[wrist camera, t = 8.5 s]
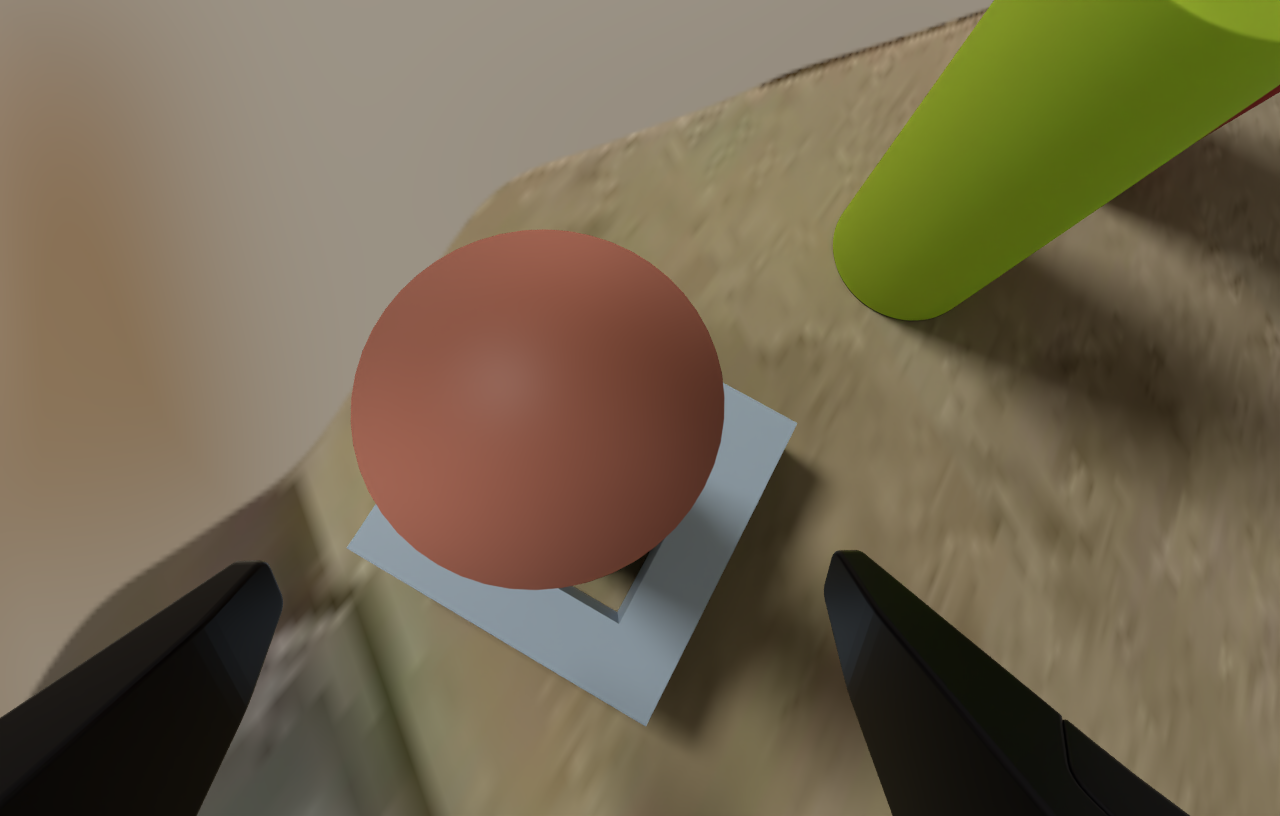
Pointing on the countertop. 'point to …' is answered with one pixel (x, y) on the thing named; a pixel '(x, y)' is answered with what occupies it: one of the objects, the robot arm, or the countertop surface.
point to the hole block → (658, 599)
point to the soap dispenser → (1044, 136)
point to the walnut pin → (537, 409)
